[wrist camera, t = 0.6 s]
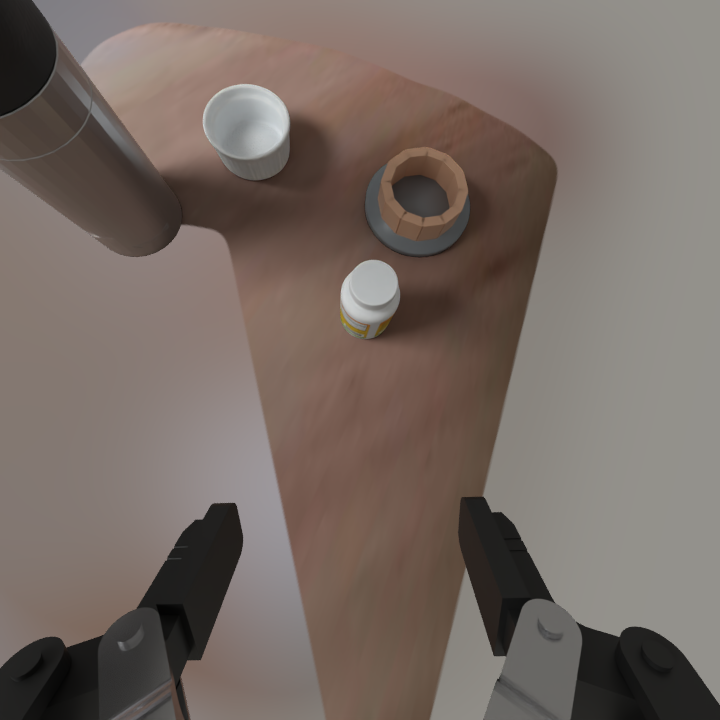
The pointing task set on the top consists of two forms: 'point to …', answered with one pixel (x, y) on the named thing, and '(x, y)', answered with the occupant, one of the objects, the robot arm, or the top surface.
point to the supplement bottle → (369, 299)
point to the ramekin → (249, 130)
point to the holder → (418, 202)
